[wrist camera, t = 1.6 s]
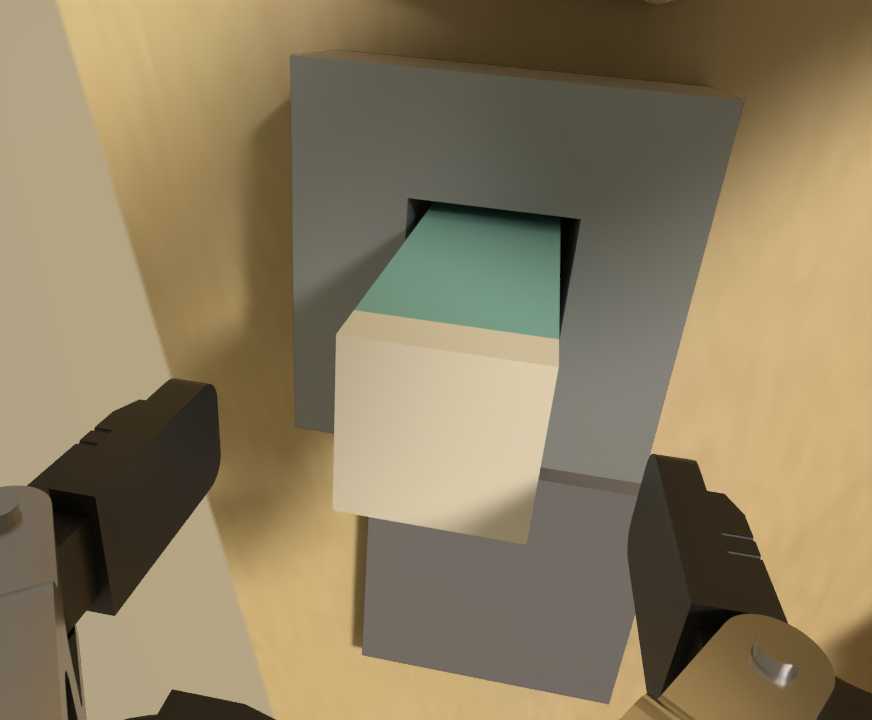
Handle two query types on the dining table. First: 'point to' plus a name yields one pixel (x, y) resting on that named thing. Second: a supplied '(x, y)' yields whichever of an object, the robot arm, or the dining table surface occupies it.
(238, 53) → the dining table surface
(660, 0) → the electrical outlet
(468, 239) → the plug
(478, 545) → the mat
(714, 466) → the dining table surface
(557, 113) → the grey square socket block
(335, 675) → the dining table surface
